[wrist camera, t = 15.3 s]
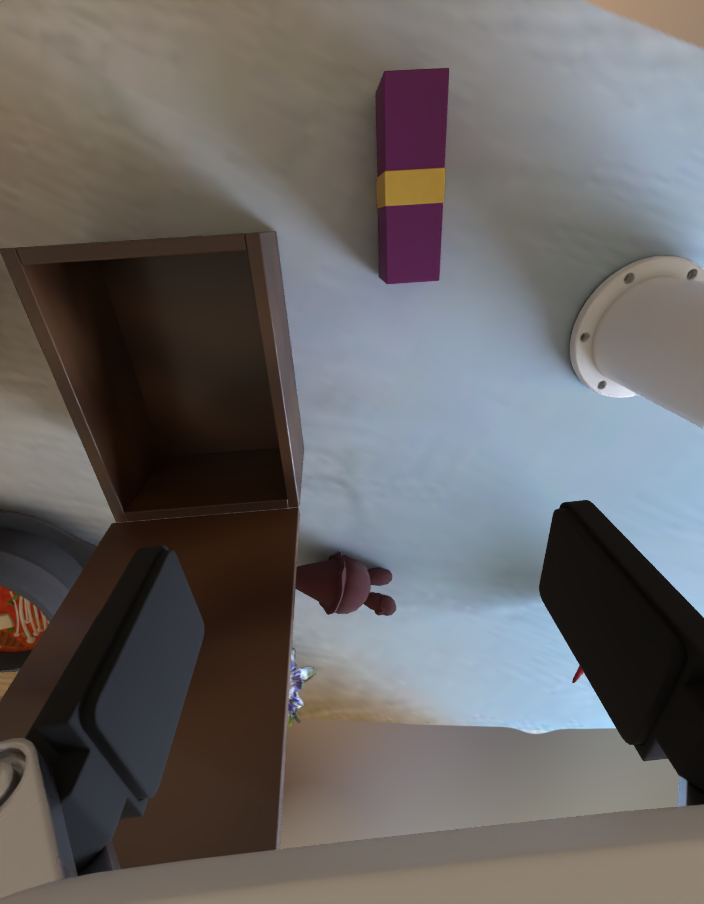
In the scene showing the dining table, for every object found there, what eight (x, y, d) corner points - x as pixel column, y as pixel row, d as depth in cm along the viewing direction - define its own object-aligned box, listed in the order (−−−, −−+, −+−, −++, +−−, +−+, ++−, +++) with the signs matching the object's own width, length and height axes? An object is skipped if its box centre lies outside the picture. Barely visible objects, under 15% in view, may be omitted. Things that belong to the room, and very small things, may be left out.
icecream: (260, 618, 44) (383, 633, 49) (279, 587, 40) (413, 606, 44) (267, 562, 49) (378, 580, 54) (283, 528, 45) (404, 551, 49)
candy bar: (432, 89, 29) (450, 67, 25) (426, 274, 34) (440, 280, 30) (374, 92, 28) (383, 70, 24) (378, 277, 34) (386, 284, 30)
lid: (-135, 914, 15) (-50, 941, 17) (275, 868, 15) (293, 902, 18) (111, 522, 32) (134, 568, 35) (298, 507, 32) (306, 553, 35)
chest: (86, 242, 32) (-2, 248, 23) (276, 231, 32) (259, 232, 23) (158, 461, 41) (116, 522, 33) (304, 449, 42) (299, 507, 33)
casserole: (149, 522, 45) (115, 579, 38) (140, 630, 53) (111, 695, 46) (-118, 475, 40) (-216, 530, 33) (-81, 603, 48) (-153, 670, 41)
